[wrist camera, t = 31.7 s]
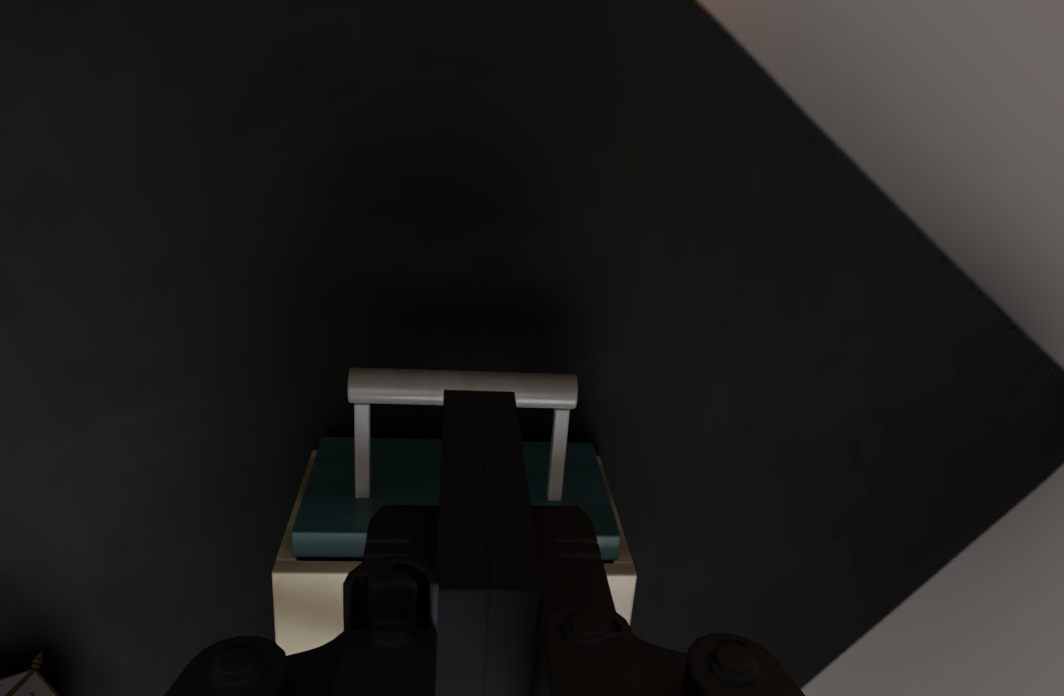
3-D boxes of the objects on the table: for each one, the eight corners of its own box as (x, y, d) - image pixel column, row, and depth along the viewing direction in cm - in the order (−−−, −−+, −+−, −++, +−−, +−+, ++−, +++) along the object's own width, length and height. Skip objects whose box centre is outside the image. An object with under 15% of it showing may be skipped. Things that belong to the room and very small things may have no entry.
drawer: (318, 322, 37) (284, 397, 30) (604, 332, 38) (638, 407, 31) (328, 669, 44) (302, 797, 37) (568, 668, 46) (588, 792, 38)
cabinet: (312, 449, 40) (270, 572, 32) (599, 455, 42) (637, 575, 33) (320, 690, 46) (287, 853, 37) (573, 688, 47) (599, 845, 39)
